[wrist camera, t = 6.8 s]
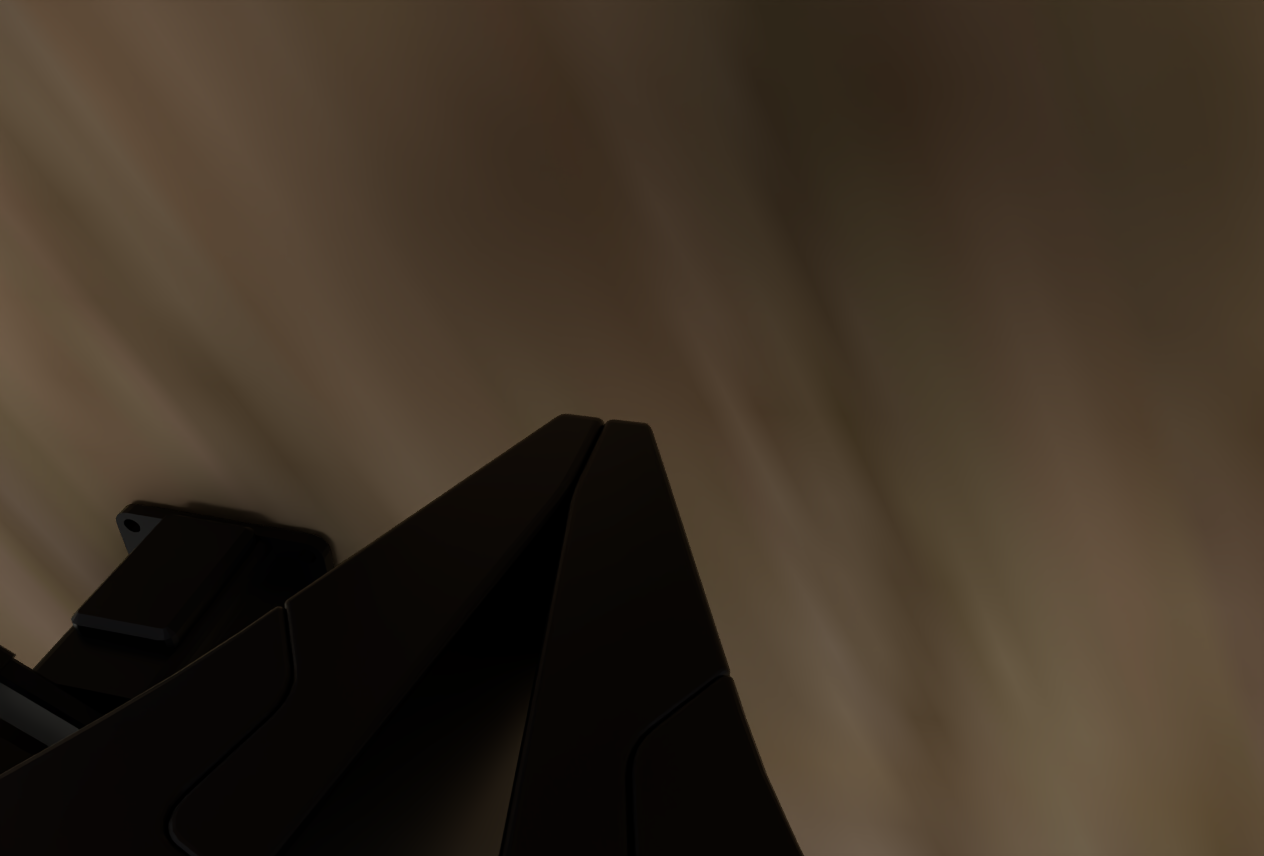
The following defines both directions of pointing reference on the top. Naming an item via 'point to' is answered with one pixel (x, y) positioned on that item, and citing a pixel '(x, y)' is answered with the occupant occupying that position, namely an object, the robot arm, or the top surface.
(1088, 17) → the top surface
